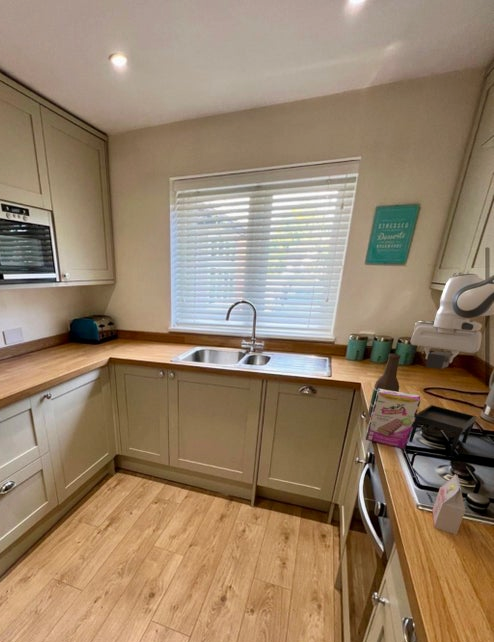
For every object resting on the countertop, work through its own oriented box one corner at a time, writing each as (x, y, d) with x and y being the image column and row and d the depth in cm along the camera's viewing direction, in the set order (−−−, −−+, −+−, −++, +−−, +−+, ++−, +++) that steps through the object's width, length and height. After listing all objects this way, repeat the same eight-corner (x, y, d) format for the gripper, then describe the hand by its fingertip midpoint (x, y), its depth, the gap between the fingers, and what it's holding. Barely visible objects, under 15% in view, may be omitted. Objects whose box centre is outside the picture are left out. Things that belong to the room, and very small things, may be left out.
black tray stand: (466, 442, 105) (476, 416, 102) (453, 456, 96) (463, 428, 93) (423, 429, 114) (431, 404, 111) (407, 441, 105) (414, 414, 102)
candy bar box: (365, 440, 105) (376, 392, 99) (365, 434, 109) (377, 387, 103) (406, 450, 100) (421, 399, 94) (405, 443, 104) (420, 394, 98)
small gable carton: (452, 515, 72) (467, 476, 68) (456, 534, 67) (472, 493, 63) (432, 509, 74) (445, 471, 70) (433, 527, 68) (448, 486, 65)
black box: (448, 366, 123) (452, 353, 122) (441, 369, 119) (445, 355, 117) (432, 363, 127) (435, 350, 125) (425, 366, 122) (428, 353, 120)
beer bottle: (393, 417, 124) (410, 354, 115) (388, 423, 118) (405, 357, 110) (370, 411, 128) (385, 350, 120) (364, 417, 123) (379, 354, 115)
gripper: (413, 320, 123) (403, 356, 128) (483, 326, 108) (470, 367, 113) (419, 319, 127) (409, 354, 131) (488, 325, 112) (475, 365, 116)
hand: (438, 360), depth 122 cm, fingers closed on black box, 5 cm apart
